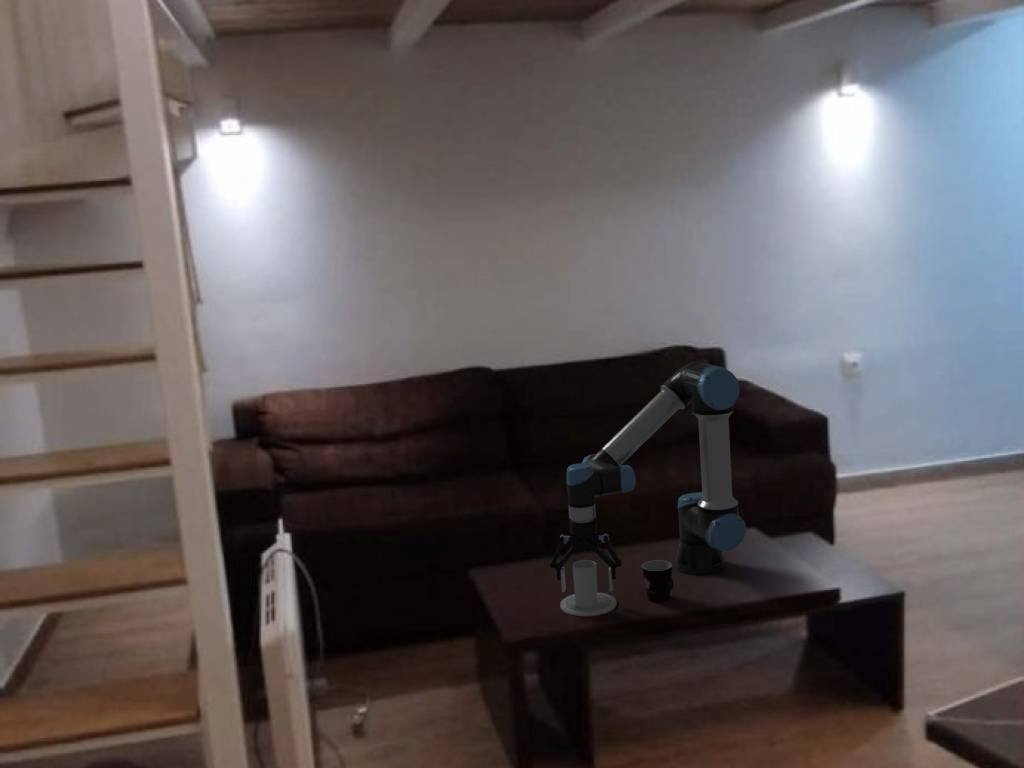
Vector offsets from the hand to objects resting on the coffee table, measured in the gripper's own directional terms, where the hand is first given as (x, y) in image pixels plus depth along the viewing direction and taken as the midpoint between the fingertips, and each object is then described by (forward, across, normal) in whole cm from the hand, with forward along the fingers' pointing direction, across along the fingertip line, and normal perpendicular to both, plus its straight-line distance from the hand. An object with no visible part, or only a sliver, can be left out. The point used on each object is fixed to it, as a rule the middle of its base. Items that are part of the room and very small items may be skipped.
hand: (587, 590), depth 293 cm
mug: (+4, +1, 0) cm, 4 cm away
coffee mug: (+5, -20, -3) cm, 21 cm away
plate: (+4, 0, 0) cm, 4 cm away
